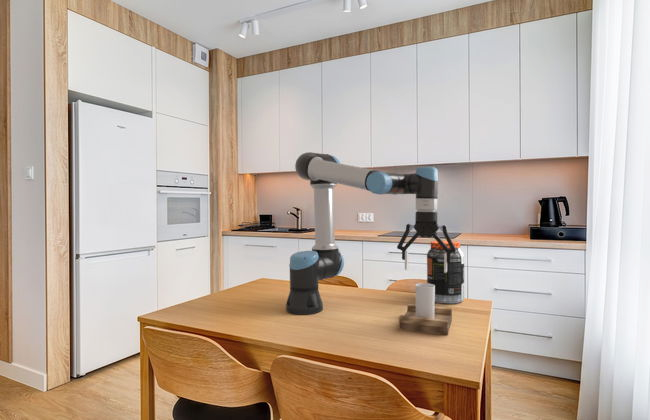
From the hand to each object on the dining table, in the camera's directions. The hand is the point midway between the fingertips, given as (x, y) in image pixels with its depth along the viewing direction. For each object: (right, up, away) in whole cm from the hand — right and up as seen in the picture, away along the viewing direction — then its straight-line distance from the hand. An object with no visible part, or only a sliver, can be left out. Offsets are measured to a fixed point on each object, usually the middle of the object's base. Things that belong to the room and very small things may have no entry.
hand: (425, 270), depth 136 cm
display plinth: (0, -19, 0) cm, 20 cm away
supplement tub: (+18, -19, +33) cm, 42 cm away
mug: (+1, -17, 0) cm, 17 cm away
